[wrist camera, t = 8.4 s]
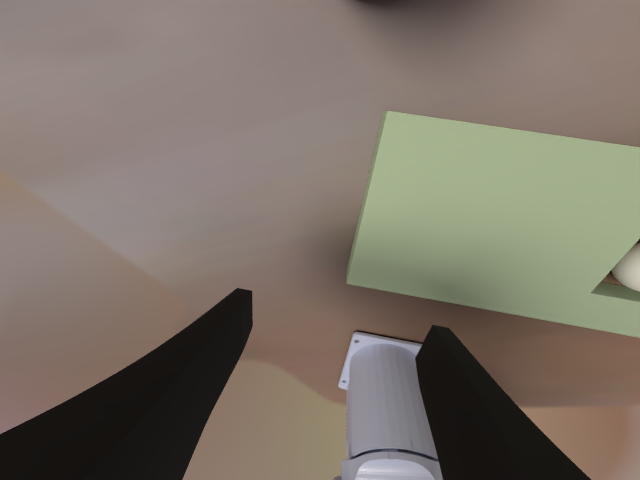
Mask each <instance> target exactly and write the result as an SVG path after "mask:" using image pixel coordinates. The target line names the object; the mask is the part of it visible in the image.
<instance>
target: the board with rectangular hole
mask: <svg viewBox="0 0 640 480" xmlns="http://www.w3.org/2000/svg"><path fill="white" fill-rule="evenodd" d="M639 239H640V147H633V146H626V145H619V144H612V143H606V142H599V141H592V140H585V139H578V138H571V137H564V136H557V135H550V134H544V133H537V132H530V131H523V130H516V129H509V128H502V127H495V126H488V125H482V124H475V123H468V122H461V121H454V120H447V119H440V118H433V117H426V116H420V115H413V114H406V113H399V112H392V111H385V112H383V114H382V119H381V123H380V128H379V132H378V136H377V141H376V145H375V149H374V154H373V158H372V163H371V167H370V171H369V176H368V180H367V184H366V189H365V193H364V197H363V202H362V206H361V211H360V215H359V219H358V224H357V228H356V232H355V237H354V241H353V245H352V250H351V254H350V259H349V263H348V267H347V284H350V285H356V286H361V287H367V288H372V289H378V290H383V291H388V292H394V293H399V294H405V295H410V296H416V297H421V298H427V299H432V300H438V301H443V302H448V303H454V304H459V305H465V306H470V307H476V308H481V309H487V310H492V311H498V312H503V313H508V314H514V315H519V316H525V317H530V318H536V319H541V320H547V321H552V322H558V323H563V324H568V325H574V326H579V327H585V328H590V329H596V330H601V331H607V332H612V333H618V334H623V335H629V336H634V337H639V338H640V292H638V291H635V290H633V289H630V288H628V287H626V286H621V285H615V284H610V283H604V282H601V281H602V280H603V279H604V277H605V276H606V275H607V274H608V273H609V272H610V271H611V270H612V269H613V268H614V266H615V265H616V264H617V263H618V262H619V261H620V260H621V259H622V258H623V257H624V255H625V254H626V253H627V252H628V251H629V250H630V249H631V248H632V247H633V246H634V244H635V243H636V242H637V241H638V240H639Z"/></svg>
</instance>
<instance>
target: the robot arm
mask: <svg viewBox="0 0 640 480" xmlns="http://www.w3.org/2000/svg"><path fill="white" fill-rule="evenodd" d="M252 327H253V320H252V291H250V290H245V289H239V288H237V289H235V290H234V291H233V292H231V293H230V294H229V295H228V296H226V297H225V298H224V299H223V300H221V301H220V302H219V303H218V304H216V305H215V306H214V307H213V308H211V309H210V310H209V311H207V312H206V313H205V314H204V315H202V316H201V317H200V318H198V319H197V320H196V321H194V322H193V323H192V324H190V325H189V326H188V327H186V328H185V329H183V330H182V331H181V332H179V333H178V334H176V335H175V336H173V337H172V338H171V339H169V340H168V341H166V342H165V343H163V344H162V345H160V346H159V347H158V348H156V349H154V350H153V351H151V352H150V353H148V354H147V355H145V356H144V357H142V358H141V359H139V360H137V361H136V362H134V363H132V364H131V365H129V366H127V367H126V368H124V369H122V370H121V371H119V372H117V373H116V374H114V375H112V376H110V377H109V378H107V379H105V380H103V381H102V382H100V383H98V384H96V385H95V386H93V387H91V388H89V389H87V390H86V391H84V392H82V393H80V394H78V395H77V396H75V397H73V398H71V399H69V400H67V401H65V402H64V403H62V404H60V405H58V406H56V407H54V408H52V409H50V410H48V411H46V412H44V413H42V414H40V415H38V416H36V417H34V418H32V419H30V420H28V421H26V422H24V423H22V424H20V425H18V426H16V427H14V428H12V429H10V430H8V431H6V432H4V433H2V434H0V480H182V479H183V477H184V474H185V472H186V469H187V467H188V465H189V462H190V460H191V457H192V455H193V453H194V450H195V448H196V445H197V443H198V441H199V438H200V436H201V434H202V431H203V429H204V427H205V424H206V422H207V420H208V418H209V416H210V414H211V412H212V410H213V408H214V406H215V404H216V402H217V400H218V398H219V396H220V395H221V392H222V391H223V389H224V387H225V385H226V383H227V381H228V379H229V377H230V375H231V373H232V372H233V370H234V368H235V365H236V364H237V362H238V360H239V358H240V356H241V354H242V352H243V350H244V347H245V345H246V342H247V340H248V337H249V334H250V332H251V329H252ZM339 387H340V388H342V389H346V390H347V407H346V408H347V409H346V454H347V458H348V460H342V473H341V476H337V477H335V478H334V479H333V480H591V479H590V478H589V477H587V475H586V474H585V473H583V472H582V471H581V470H580V469H579V468H578V467H577V466H576V465H575V464H574V463H573V462H572V461H571V460H570V459H569V458H568V457H567V456H566V455H565V454H564V453H563V452H562V451H561V450H560V449H559V448H558V447H557V446H556V445H555V444H554V443H553V442H552V441H551V440H550V439H549V438H548V437H547V436H546V435H545V434H544V433H543V432H542V431H541V430H540V429H539V428H538V427H537V426H536V425H535V424H534V423H533V422H532V421H531V420H530V419H529V418H528V417H527V416H526V414H525V413H524V412H523V411H522V410H521V409H520V408H519V407H518V406H517V405H516V404H515V403H514V402H513V401H512V400H511V398H510V397H509V396H508V395H507V394H506V393H505V392H504V391H503V390H502V389H501V387H500V386H499V385H498V384H497V383H496V382H495V381H494V380H493V378H492V377H491V376H490V375H489V374H488V373H487V372H486V370H485V369H484V368H483V367H482V366H481V365H480V363H479V362H478V361H477V360H476V359H475V358H474V356H473V355H472V354H471V353H470V352H469V351H468V349H467V348H466V347H465V346H464V345H463V344H462V343H461V341H460V340H459V339H458V338H457V337H456V336H455V335H454V333H453V332H452V331H451V330H450V329H449V328H446V327H441V326H436V325H432V327H431V329H430V331H429V333H428V335H427V336H426V338H425V340H424V342H423V344H419V343H414V342H408V341H403V340H398V339H393V338H388V337H383V336H377V335H372V334H367V333H362V332H355V333H353V336H352V339H351V342H350V346H349V349H348V353H347V356H346V359H345V363H344V366H343V370H342V373H341V377H340V380H339Z"/></svg>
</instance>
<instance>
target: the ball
mask: <svg viewBox="0 0 640 480" xmlns="http://www.w3.org/2000/svg"><path fill="white" fill-rule="evenodd" d="M611 271H612V274H613V275H614V277H615V278H616V279H617V280H618V281H619V282H620V283H622V284H623V285H625V286H626V287H628V288H630V289H633V290H635V291H638V292H640V243H637V244H634V246H633V247H632V248H631V249H630V250H629V251H628V252H627V253H626V254H625V255H624V257H623V258H622V259H621V260H620V261H619V262H618V263H617V264H616V265H615V266H614V268H613V269H612V270H611Z"/></svg>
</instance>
